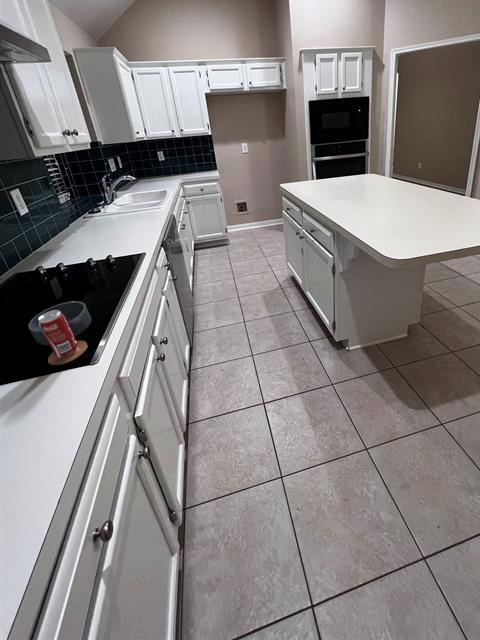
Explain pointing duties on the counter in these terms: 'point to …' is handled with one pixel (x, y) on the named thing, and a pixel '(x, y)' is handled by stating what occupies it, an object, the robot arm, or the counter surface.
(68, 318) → the bowl
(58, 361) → the coaster
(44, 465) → the counter surface
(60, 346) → the soda can
